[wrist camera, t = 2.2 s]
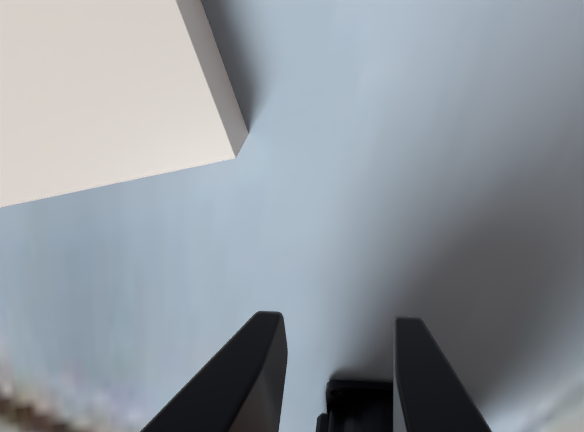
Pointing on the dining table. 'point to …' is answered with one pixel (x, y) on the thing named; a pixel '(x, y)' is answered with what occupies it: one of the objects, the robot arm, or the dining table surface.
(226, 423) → the robot arm
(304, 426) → the dining table surface
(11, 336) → the dining table surface
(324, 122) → the dining table surface
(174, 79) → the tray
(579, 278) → the dining table surface
